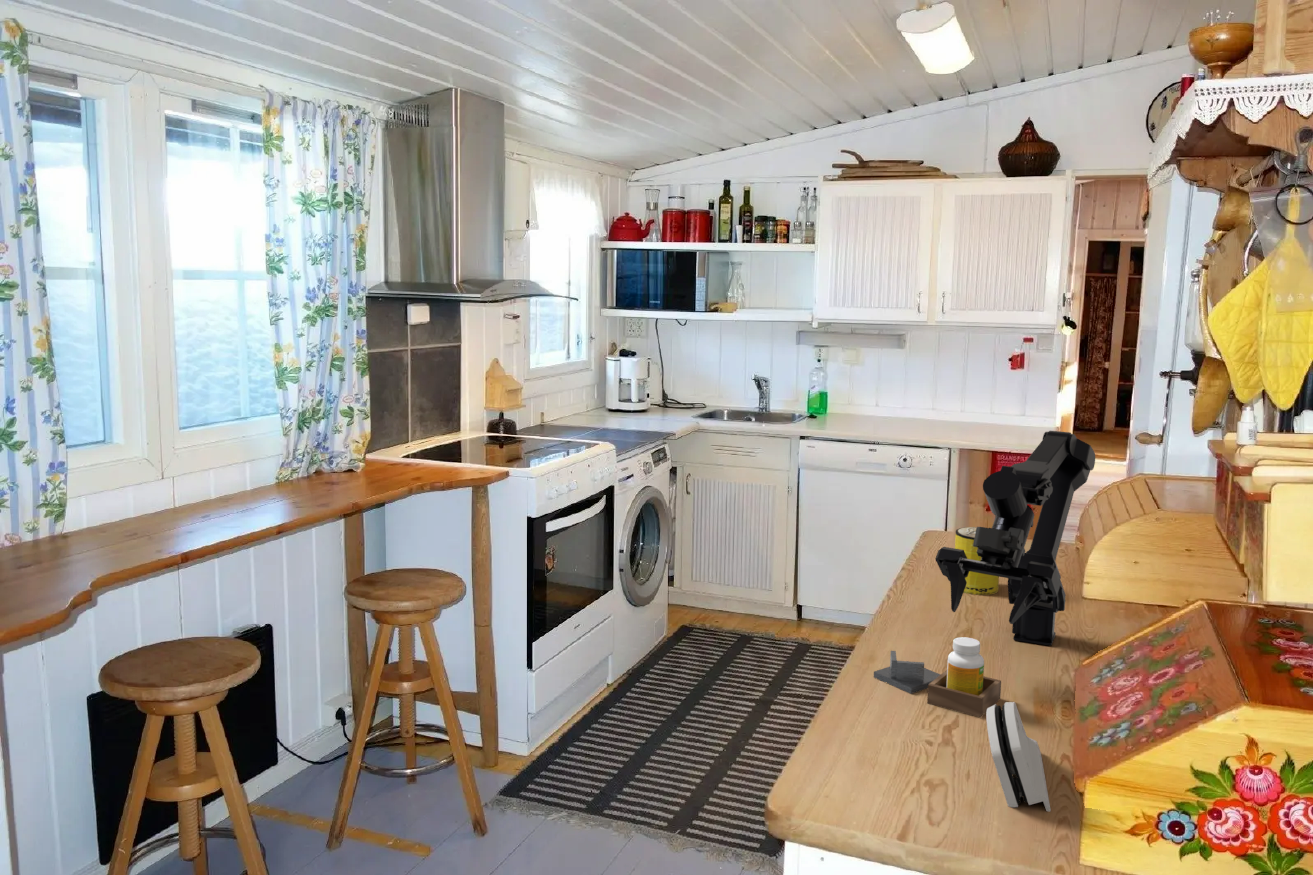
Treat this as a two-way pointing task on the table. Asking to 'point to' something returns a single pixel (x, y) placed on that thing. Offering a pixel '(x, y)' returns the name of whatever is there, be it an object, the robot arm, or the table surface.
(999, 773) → the white black-striped casing block
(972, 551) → the beverage can
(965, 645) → the supplement bottle
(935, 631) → the table surface
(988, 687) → the block
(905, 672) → the v-block
